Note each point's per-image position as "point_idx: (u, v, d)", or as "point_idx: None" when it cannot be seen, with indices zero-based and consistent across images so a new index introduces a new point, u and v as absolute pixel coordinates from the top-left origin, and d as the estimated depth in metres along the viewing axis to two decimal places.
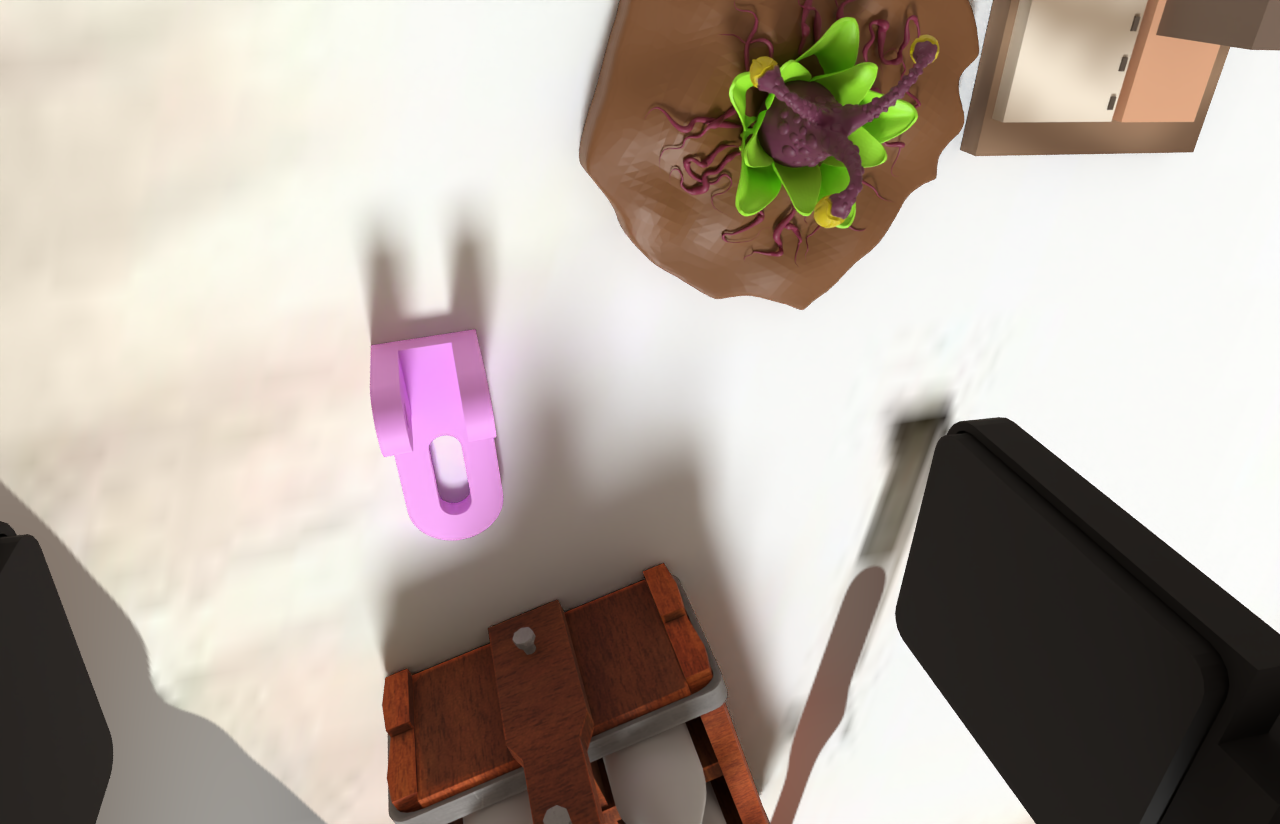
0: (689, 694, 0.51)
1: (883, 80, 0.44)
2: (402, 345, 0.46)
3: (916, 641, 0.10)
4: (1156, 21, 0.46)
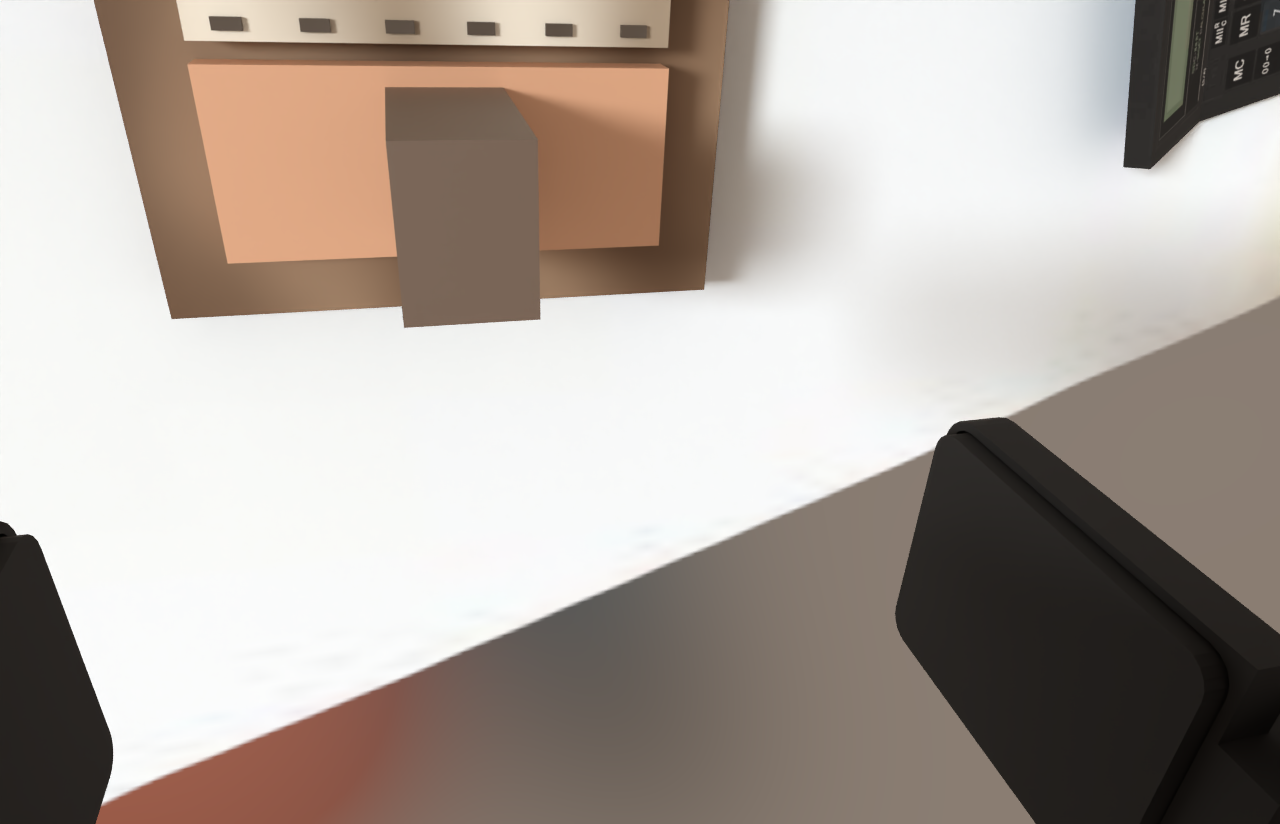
0: None
1: None
2: None
3: (916, 641, 0.10)
4: (410, 77, 0.22)
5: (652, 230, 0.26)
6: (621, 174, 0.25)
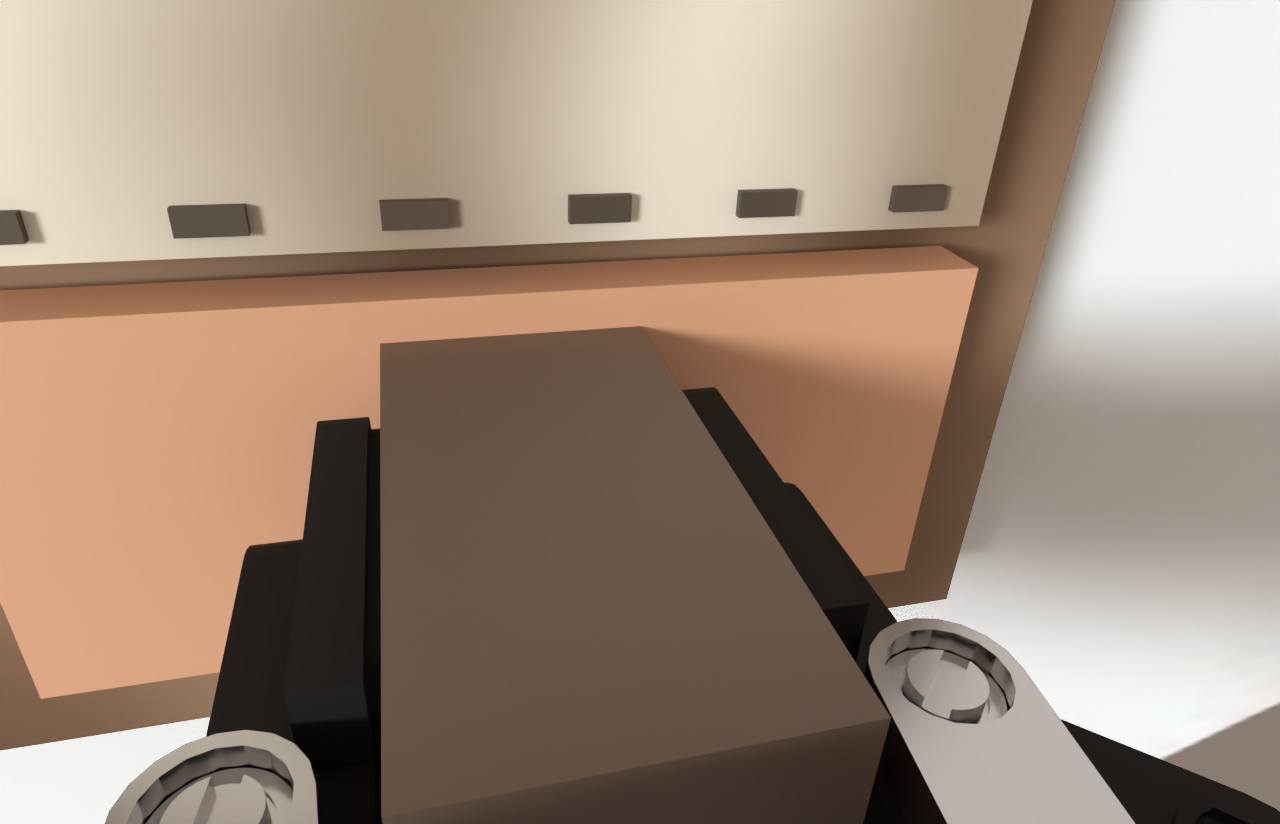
0: None
1: None
2: None
3: None
4: (438, 320, 0.10)
5: (897, 548, 0.13)
6: (855, 463, 0.12)
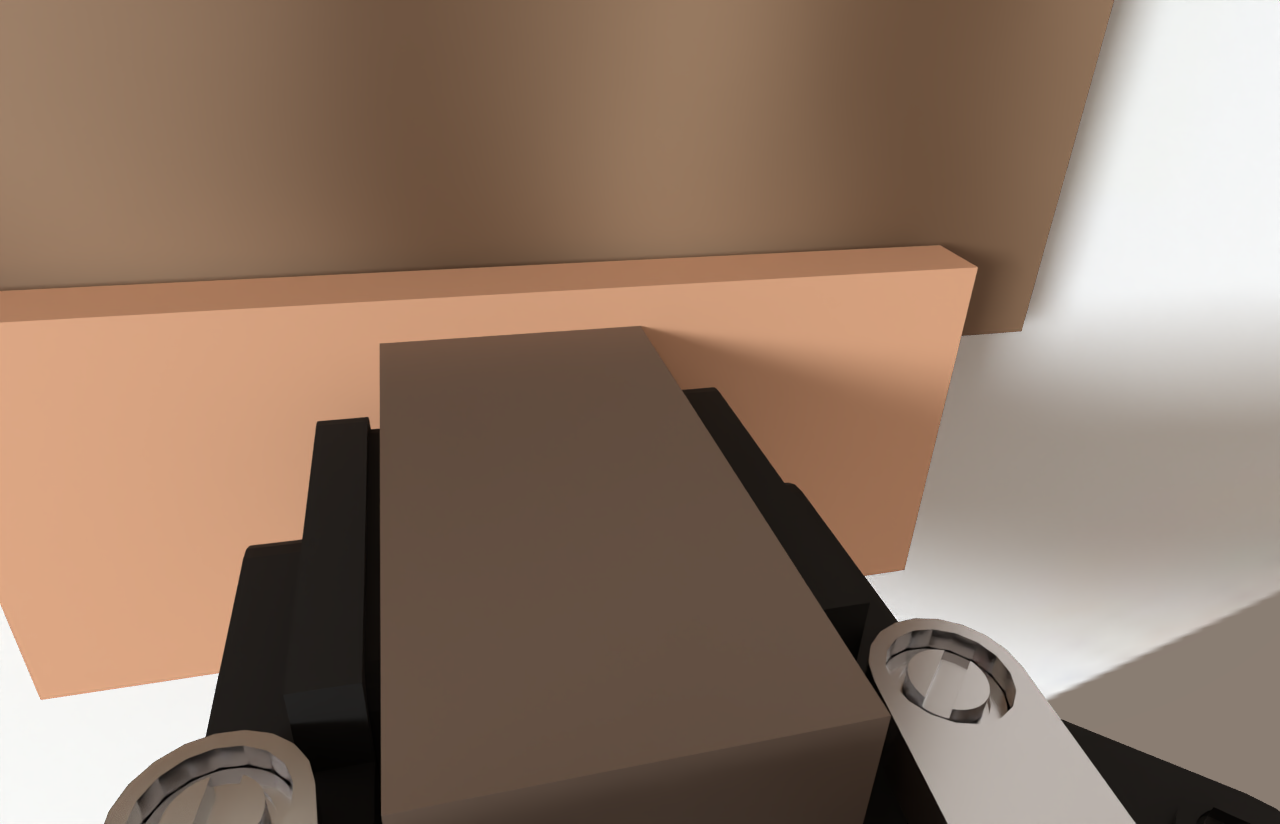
0: None
1: None
2: None
3: None
4: (438, 320, 0.10)
5: (897, 547, 0.13)
6: (855, 462, 0.12)
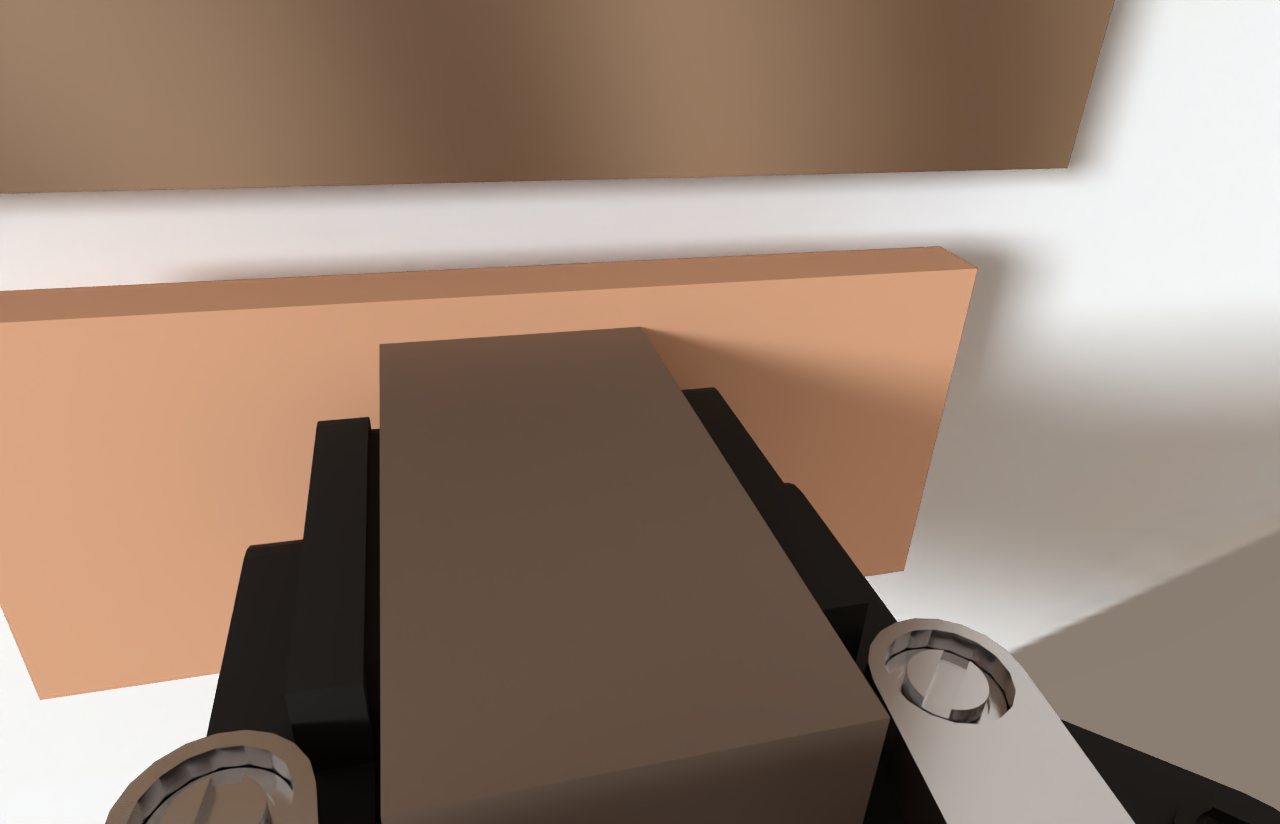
0: None
1: None
2: None
3: None
4: (438, 321, 0.10)
5: (897, 548, 0.13)
6: (854, 464, 0.12)
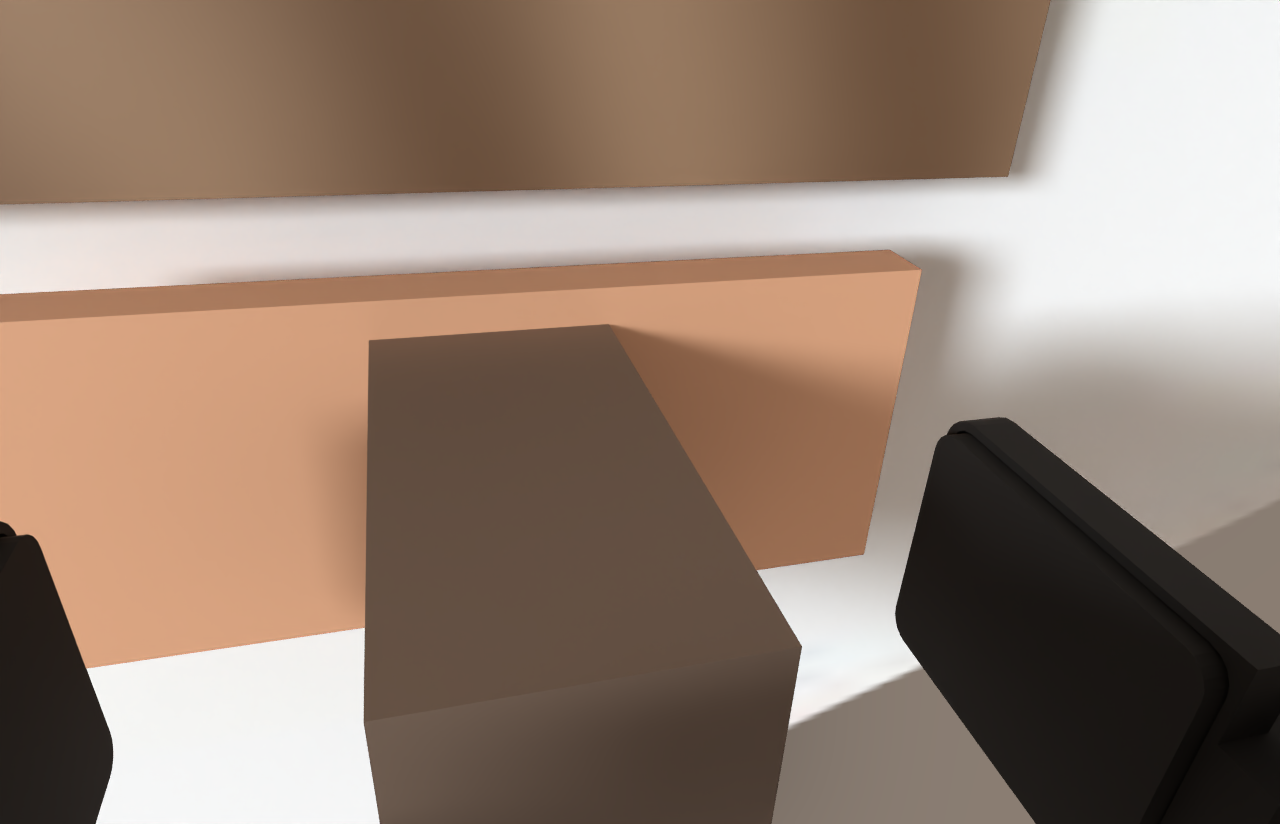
0: None
1: None
2: None
3: (916, 641, 0.10)
4: (422, 319, 0.11)
5: (856, 533, 0.14)
6: (813, 451, 0.13)
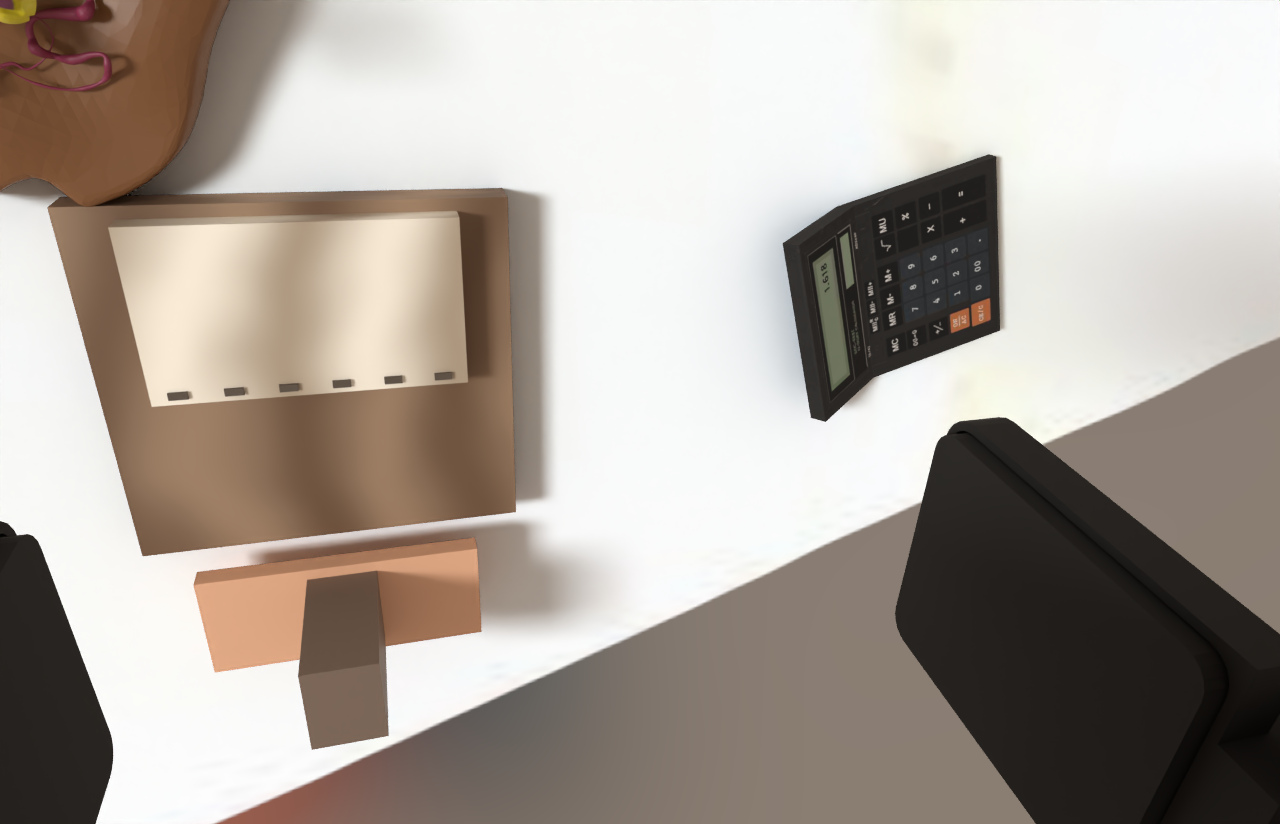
0: None
1: None
2: None
3: (916, 641, 0.10)
4: (321, 573, 0.38)
5: (476, 624, 0.42)
6: (453, 600, 0.41)
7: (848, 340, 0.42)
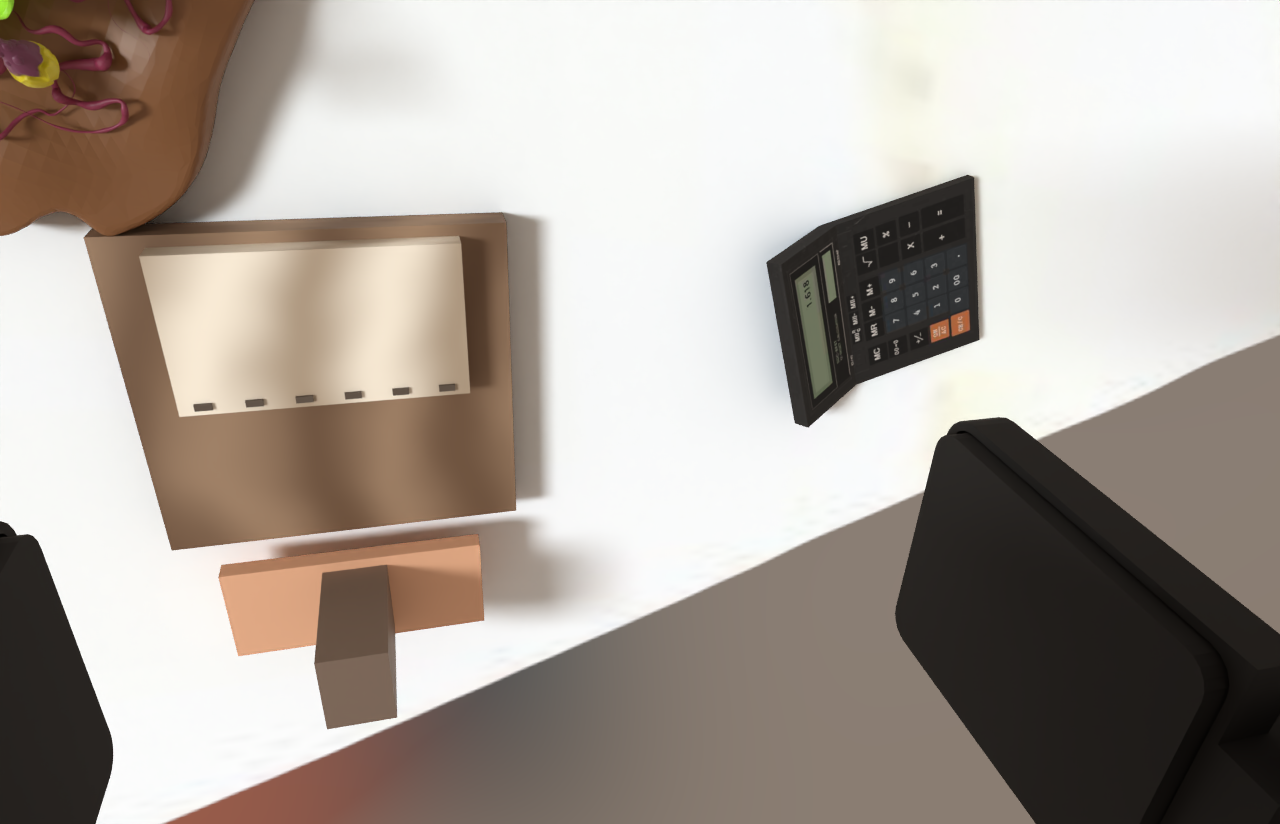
0: None
1: None
2: None
3: (916, 641, 0.10)
4: (335, 567, 0.41)
5: (479, 614, 0.45)
6: (457, 592, 0.44)
7: (830, 351, 0.44)
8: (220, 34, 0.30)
